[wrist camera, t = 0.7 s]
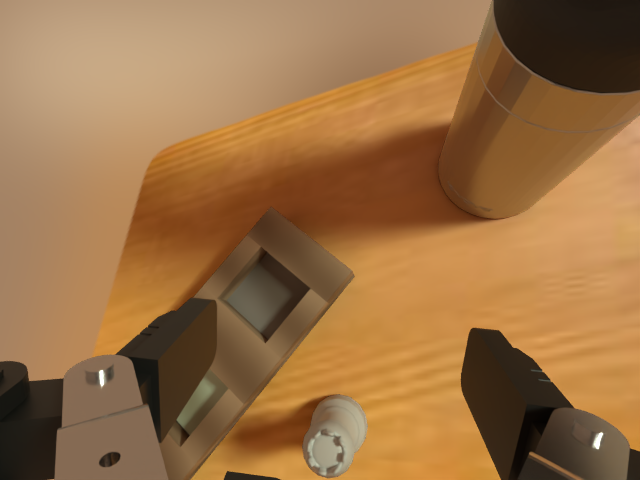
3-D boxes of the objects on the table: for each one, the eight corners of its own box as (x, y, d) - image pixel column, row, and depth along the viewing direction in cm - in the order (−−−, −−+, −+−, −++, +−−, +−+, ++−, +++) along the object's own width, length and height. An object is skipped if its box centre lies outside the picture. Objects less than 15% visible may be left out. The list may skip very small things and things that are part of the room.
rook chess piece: (303, 437, 30) (277, 471, 22) (325, 383, 31) (307, 399, 23) (354, 465, 29) (345, 511, 21) (376, 408, 30) (375, 434, 22)
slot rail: (279, 217, 35) (271, 206, 32) (354, 276, 33) (352, 270, 30) (119, 405, 33) (94, 412, 30) (186, 484, 31) (166, 499, 28)
